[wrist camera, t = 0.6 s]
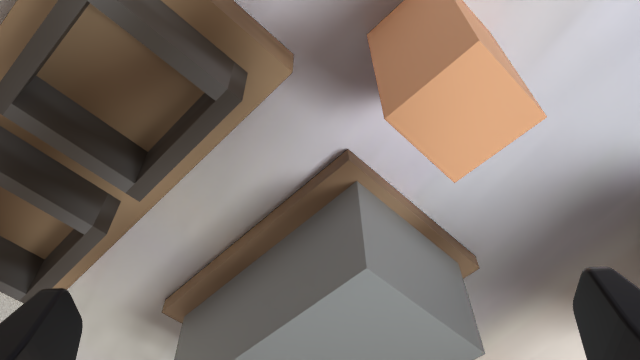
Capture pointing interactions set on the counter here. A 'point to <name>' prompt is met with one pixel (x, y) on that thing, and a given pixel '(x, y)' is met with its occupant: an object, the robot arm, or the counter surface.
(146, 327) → the counter surface
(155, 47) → the socket board
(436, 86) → the tan rectangular block
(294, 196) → the plate
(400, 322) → the housing
